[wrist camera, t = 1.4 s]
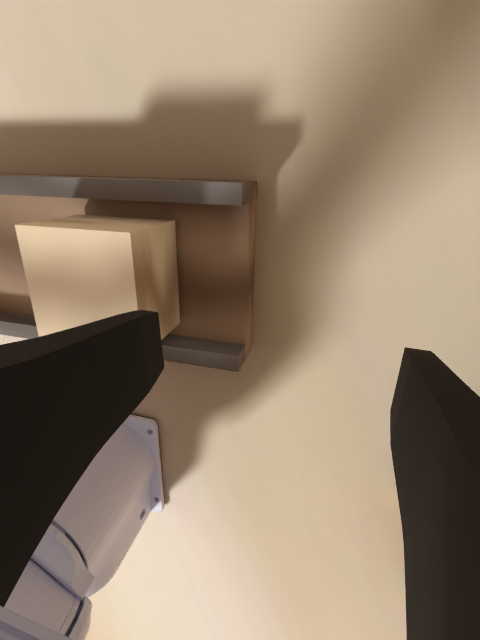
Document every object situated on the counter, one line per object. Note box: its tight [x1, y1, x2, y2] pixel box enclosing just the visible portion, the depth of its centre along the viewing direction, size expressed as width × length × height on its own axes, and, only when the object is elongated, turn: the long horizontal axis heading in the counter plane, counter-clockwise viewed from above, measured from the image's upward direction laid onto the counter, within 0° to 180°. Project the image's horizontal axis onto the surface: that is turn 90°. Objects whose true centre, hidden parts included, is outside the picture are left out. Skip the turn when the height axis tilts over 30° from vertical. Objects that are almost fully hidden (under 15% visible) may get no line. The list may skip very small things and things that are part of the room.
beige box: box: [15, 214, 180, 340], centre depth 19 cm, size 6×6×4 cm
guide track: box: [0, 174, 257, 372], centre depth 23 cm, size 10×30×4 cm, turn 89°
